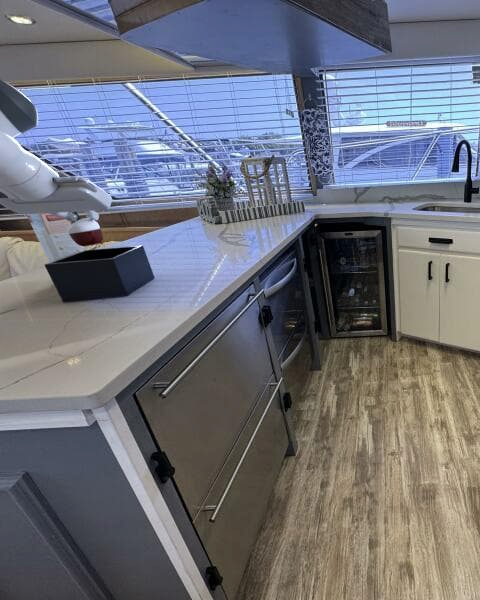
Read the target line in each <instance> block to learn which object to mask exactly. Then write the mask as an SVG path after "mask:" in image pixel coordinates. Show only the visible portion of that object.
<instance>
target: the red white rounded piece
mask: <svg viewBox="0 0 480 600" xmlns="http://www.w3.org/2000/svg"><path fill="white" fill-rule="evenodd" d="M73 213H74V214H75V215H77V217H78V218H77V221H72V225H71V226H70V227H68V229H67V231H68V232H69V235H70V237H71V238H72V239H73V241H74V242H75V243H76V244H78V245H81V246H82V247H91V246H95V245H99V244H102V242H103V241H104V234H103V232H102V229H101V227H100V225H99V223H98V221H97V220H90V219H88V218H87V217H86V218H81V217H80V215H79V213H78V212H73Z"/></svg>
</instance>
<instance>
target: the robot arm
mask: <svg viewBox="0 0 480 600" xmlns="http://www.w3.org/2000/svg"><path fill="white" fill-rule="evenodd" d="M38 127H39V112H38V107H36V105H35V104H34V103H33V102H32V101H31V99H29V98H28V97H27V96H26V95H25V94H24V93H23V92H22V91H20V90H19V89H18V88H16V87H15V86H13V85H11V84H9V83H8V82H7V81H4V80H2V79H1V78H0V205H1V206H3V207H4V208H6V209H8V210H10V211H12V212H13V213H17V214H20V215H26V214H42V213H51V214H52V215H55V216H58V217H61V218H64V219H66V220H67V221H69V222H72V223H73V221H77V218H78V217H77V215H75V214H74V213H73V212H77V213H78V212H79V213H80V212H83V213H85V214H86V215H85V217H86V218H88V219H90V220H94V221H99V218H100V214H99V213H98V212H97V211H108V210H110V207H111V205H112V201H113V199H112V196H111V195H110V194H109V192H108V193H107V192H106V191H105V190H104V189H102V188H101V187H100V186H98V185H96V184H95V183H94V182H92V181H90V180H88V179H85V178H80V177H76V176H70V177H65V176H64V177H60V175H59V174H58V172H57V171H55V170H54V169H53V168H51V166H49V165H47V164H46V163H45V162H44V161H43V160H41V159H40V158H39V157H38V156H36V155H35V154H33V153H32V152H29V151H27V150H26V149H25V148H23V147H22V146H21V144H20V143H19V142H18V141H17V140H16V139H15V138H16V137H17V136H19V135H21V134H26V133H27V132H28V131H31V130H33V129H35V128H38Z"/></svg>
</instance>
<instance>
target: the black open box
mask: <svg viewBox="0 0 480 600" xmlns="http://www.w3.org/2000/svg"><path fill="white" fill-rule="evenodd" d="M83 250H84V251H81V252H78V253H76V254H73V255H70V256H67V257H64V258H62V259H59V260H56V261H53V262H50V263H49V262H47V263H44V267H45V269H46V272H47V273H48V276H49V278H50V280H51V282H52V283H53V286H54V288H55V290H56V291H57V293H58V296H59V297H60V299H61V301H62V303H64V304H65V303H71V302H72V303H73V302H82V301H92V300H102V299H103V300H104V299H112V298H121V297H129V296H130V295H131V294H133V293H135V292H136V291H138V290H139V289H141V288H142V287H144V286H145V285H147V284H149V283H150V282H151V281H153V280H154V279H155V277H156V276H155V275H154V272H153V269H152V267H151V264H150V261H149V258H148V255H147V252H146V250H145V247H144V245H133V246H120V247H119V246H118V247H107V248H106V247H105V248H95V249H83Z"/></svg>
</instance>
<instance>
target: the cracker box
mask: <svg viewBox="0 0 480 600" xmlns="http://www.w3.org/2000/svg"><path fill="white" fill-rule="evenodd" d="M25 215H26V218H27V220H28V221H29V223H30V226H31V227H32V230H33V232H34V233H35V235H36V238H37V241H38V242H39V244H40V246H41V248H42V250H43V253H44V255H45V257H46V259H47V261H48V263H50V262H53V261H56V260H59V259H62V258H64V257H67V256H70V255H73V254H76V253H78V252H81V251H84V250H85V249H84V247H83V246H81V245H78V244H76V243H75V242H74V241H73V239H72V238H71V237H70V235H69V232H68V231H67V229H68V227H70V226H71V225H72V224H73V221H72V222H69V221H67V220H66V219H64V218H61V217H58V216H55V215H52V214H51V213H42V214H25Z"/></svg>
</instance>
